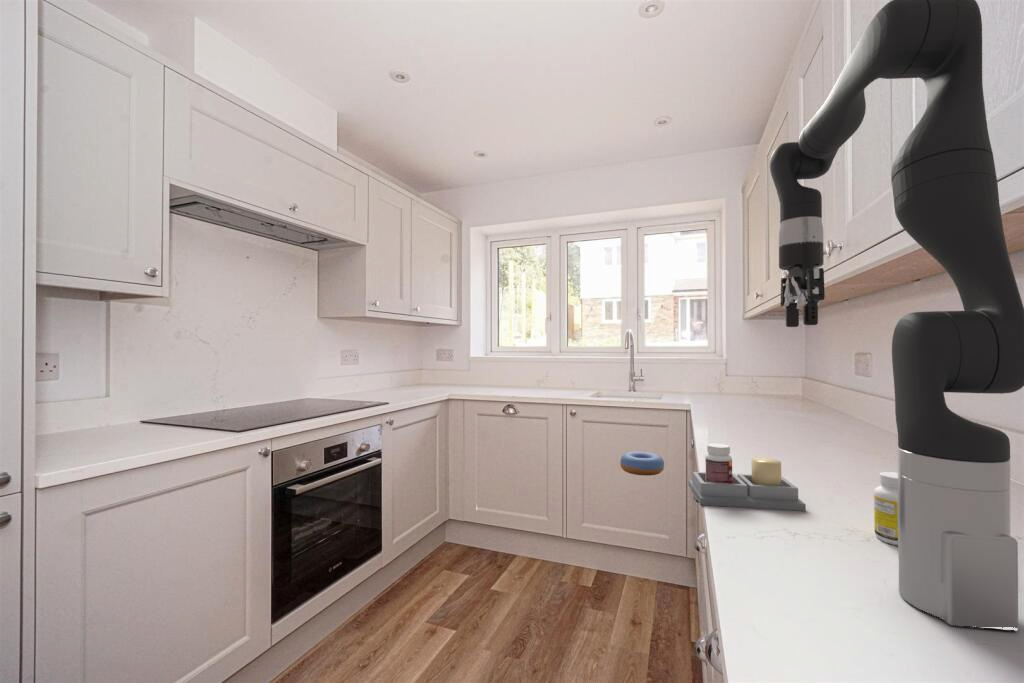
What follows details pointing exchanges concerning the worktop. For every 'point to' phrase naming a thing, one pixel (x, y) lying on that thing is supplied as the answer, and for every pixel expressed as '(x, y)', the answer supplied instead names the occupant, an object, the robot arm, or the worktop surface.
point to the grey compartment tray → (750, 489)
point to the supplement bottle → (886, 508)
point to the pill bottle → (718, 464)
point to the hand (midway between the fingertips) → (800, 326)
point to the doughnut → (642, 463)
